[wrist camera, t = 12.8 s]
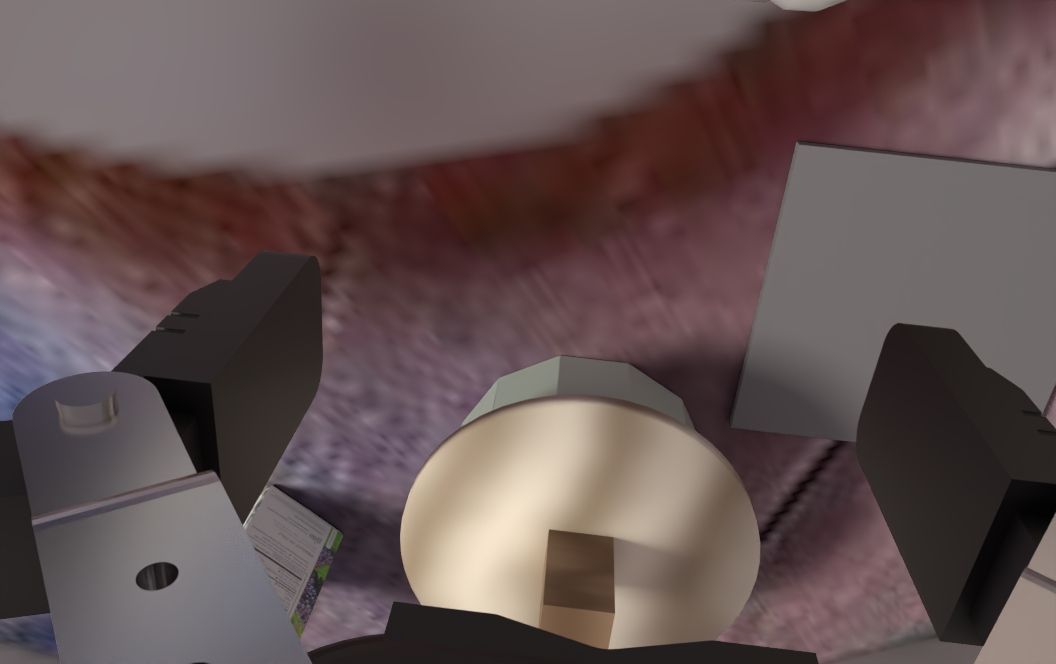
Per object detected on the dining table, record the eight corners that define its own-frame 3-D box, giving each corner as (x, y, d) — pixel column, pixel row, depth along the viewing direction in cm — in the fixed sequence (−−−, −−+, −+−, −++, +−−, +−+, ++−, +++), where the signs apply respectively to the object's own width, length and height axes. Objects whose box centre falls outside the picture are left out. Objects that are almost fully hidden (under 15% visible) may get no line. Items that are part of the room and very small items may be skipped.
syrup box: (295, 579, 56) (204, 785, 43) (220, 529, 54) (103, 728, 42) (346, 532, 54) (266, 734, 41) (268, 478, 52) (161, 671, 39)
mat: (1138, 177, 40) (1145, 181, 39) (1016, 455, 47) (1021, 461, 47) (796, 141, 40) (799, 144, 40) (729, 421, 48) (730, 428, 47)
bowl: (722, 373, 46) (741, 448, 40) (678, 566, 53) (688, 656, 47) (467, 344, 47) (446, 414, 41) (454, 540, 53) (435, 625, 47)
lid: (794, 418, 39) (825, 501, 34) (718, 686, 48) (733, 786, 42) (408, 373, 40) (379, 448, 34) (400, 646, 48) (375, 740, 43)
